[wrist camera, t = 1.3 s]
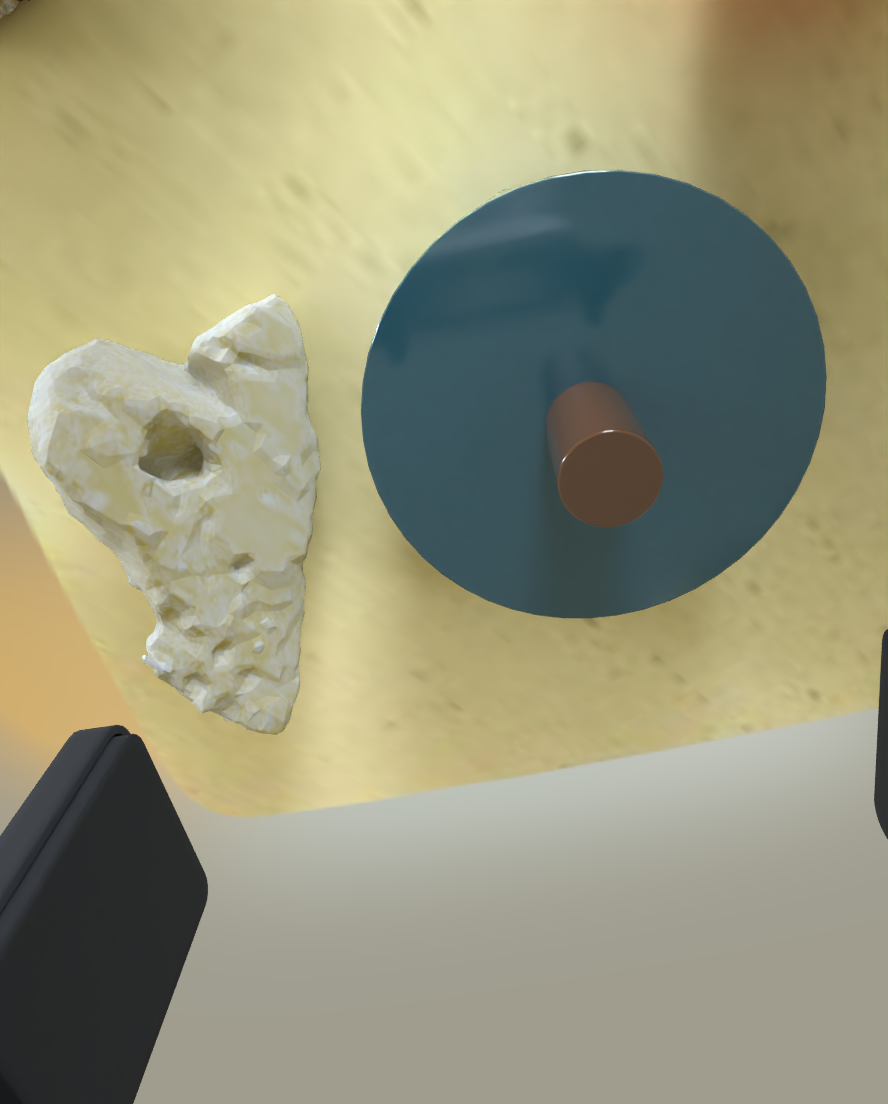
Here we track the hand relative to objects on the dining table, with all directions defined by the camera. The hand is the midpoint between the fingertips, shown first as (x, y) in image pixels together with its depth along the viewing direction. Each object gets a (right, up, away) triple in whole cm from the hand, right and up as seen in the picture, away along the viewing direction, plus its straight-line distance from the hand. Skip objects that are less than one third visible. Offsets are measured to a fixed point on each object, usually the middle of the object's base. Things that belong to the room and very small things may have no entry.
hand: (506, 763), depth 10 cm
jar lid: (+4, +7, +14) cm, 16 cm away
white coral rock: (-9, +6, +26) cm, 28 cm away
